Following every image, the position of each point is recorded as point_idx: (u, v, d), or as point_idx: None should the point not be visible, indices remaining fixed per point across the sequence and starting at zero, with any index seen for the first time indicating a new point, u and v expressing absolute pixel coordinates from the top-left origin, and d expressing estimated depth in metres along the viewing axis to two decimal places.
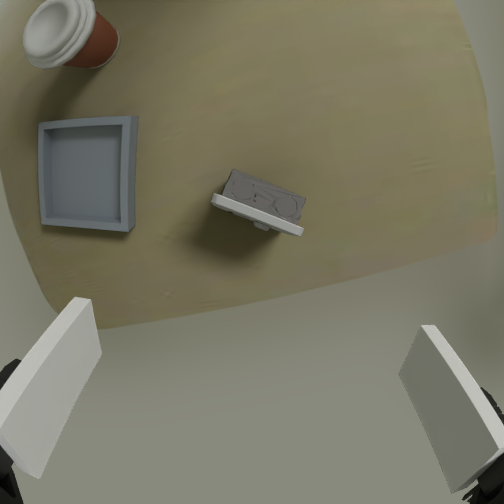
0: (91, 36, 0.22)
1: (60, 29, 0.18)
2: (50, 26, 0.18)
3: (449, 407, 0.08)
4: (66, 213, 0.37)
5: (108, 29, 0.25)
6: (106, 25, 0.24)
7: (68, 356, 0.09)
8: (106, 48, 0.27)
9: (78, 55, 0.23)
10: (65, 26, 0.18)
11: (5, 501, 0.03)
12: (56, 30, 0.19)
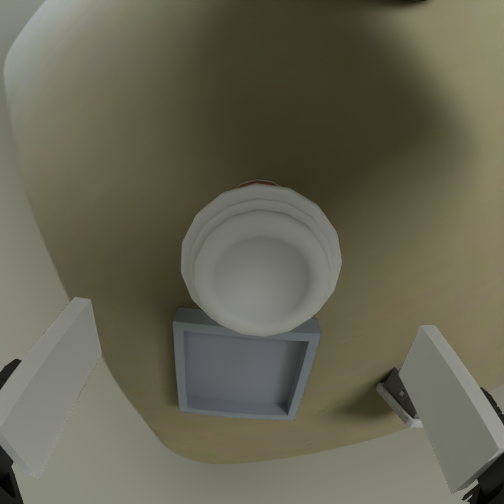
0: None
1: (295, 300, 0.16)
2: (268, 284, 0.16)
3: (449, 407, 0.08)
4: (209, 397, 0.35)
5: None
6: None
7: (68, 356, 0.09)
8: None
9: None
10: (308, 300, 0.16)
11: (5, 501, 0.03)
12: (284, 298, 0.16)
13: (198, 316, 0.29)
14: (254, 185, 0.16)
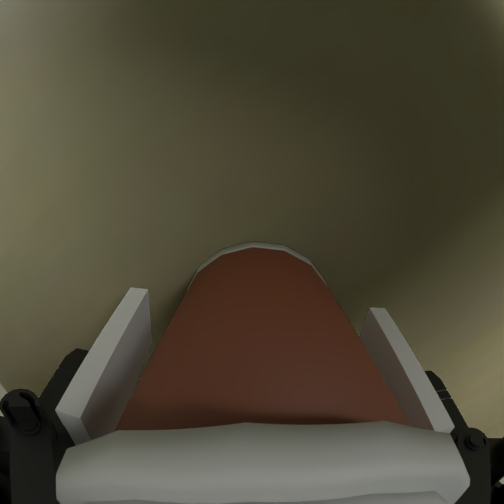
0: None
1: None
2: None
3: (391, 387, 0.09)
4: None
5: None
6: None
7: (131, 343, 0.10)
8: None
9: None
10: None
11: None
12: None
13: None
14: (238, 459, 0.03)
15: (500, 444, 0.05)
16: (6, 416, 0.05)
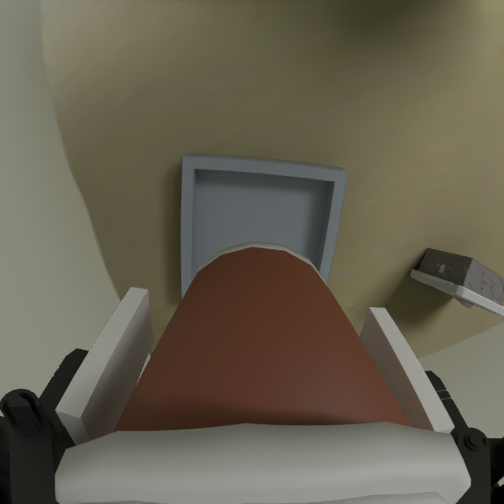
0: None
1: None
2: None
3: (391, 387, 0.09)
4: None
5: None
6: None
7: (131, 343, 0.10)
8: None
9: None
10: None
11: None
12: None
13: (211, 156, 0.26)
14: (238, 460, 0.03)
15: (500, 444, 0.05)
16: (6, 416, 0.05)
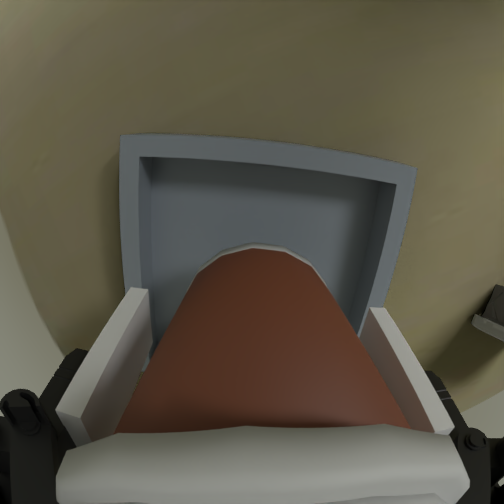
0: None
1: None
2: None
3: (391, 387, 0.09)
4: None
5: None
6: None
7: (131, 343, 0.10)
8: None
9: None
10: None
11: None
12: None
13: (173, 134, 0.14)
14: (238, 463, 0.03)
15: (500, 444, 0.05)
16: (6, 416, 0.05)
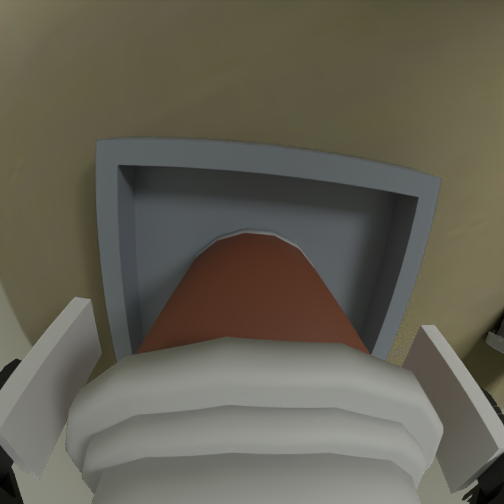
0: None
1: None
2: None
3: (449, 407, 0.08)
4: None
5: None
6: None
7: (68, 356, 0.09)
8: None
9: None
10: None
11: (5, 501, 0.03)
12: None
13: (158, 138, 0.12)
14: (219, 360, 0.04)
15: None
16: None
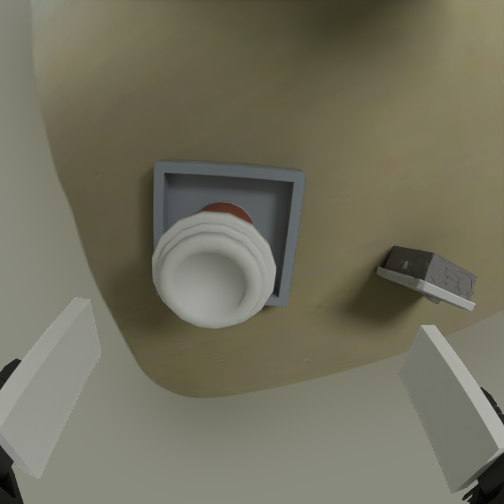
0: None
1: (237, 299, 0.21)
2: (215, 288, 0.21)
3: (449, 407, 0.08)
4: None
5: None
6: None
7: (68, 356, 0.09)
8: None
9: None
10: (247, 299, 0.21)
11: (5, 501, 0.03)
12: (228, 297, 0.21)
13: (180, 161, 0.28)
14: (201, 213, 0.21)
15: None
16: None
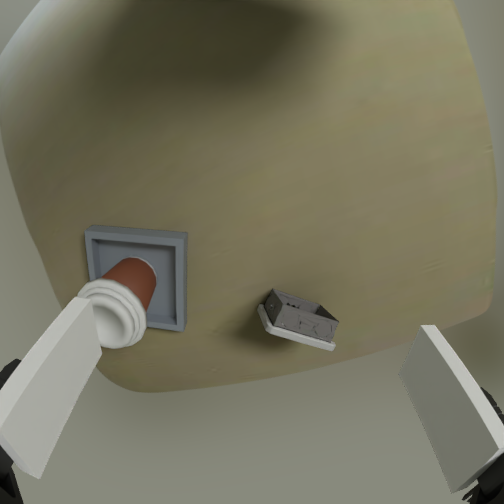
0: None
1: (120, 333, 0.31)
2: (107, 325, 0.31)
3: (449, 407, 0.08)
4: None
5: (150, 288, 0.38)
6: (147, 287, 0.37)
7: (68, 356, 0.09)
8: None
9: None
10: (125, 333, 0.31)
11: (5, 501, 0.03)
12: (115, 331, 0.31)
13: (102, 228, 0.38)
14: (97, 280, 0.31)
15: None
16: None
